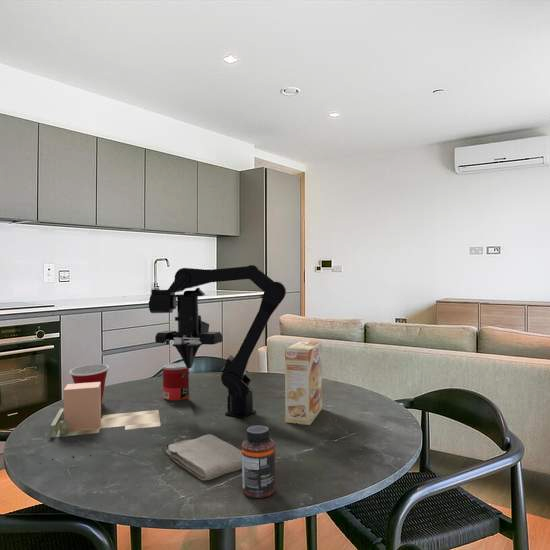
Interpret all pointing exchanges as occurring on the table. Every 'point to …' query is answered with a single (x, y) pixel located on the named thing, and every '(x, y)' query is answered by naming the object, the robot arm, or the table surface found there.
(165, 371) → the canned food
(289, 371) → the coffeecake box
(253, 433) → the supplement bottle
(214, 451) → the washcloth
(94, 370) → the plastic cup
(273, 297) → the robot arm
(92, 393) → the block
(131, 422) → the trap board
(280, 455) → the table surface
